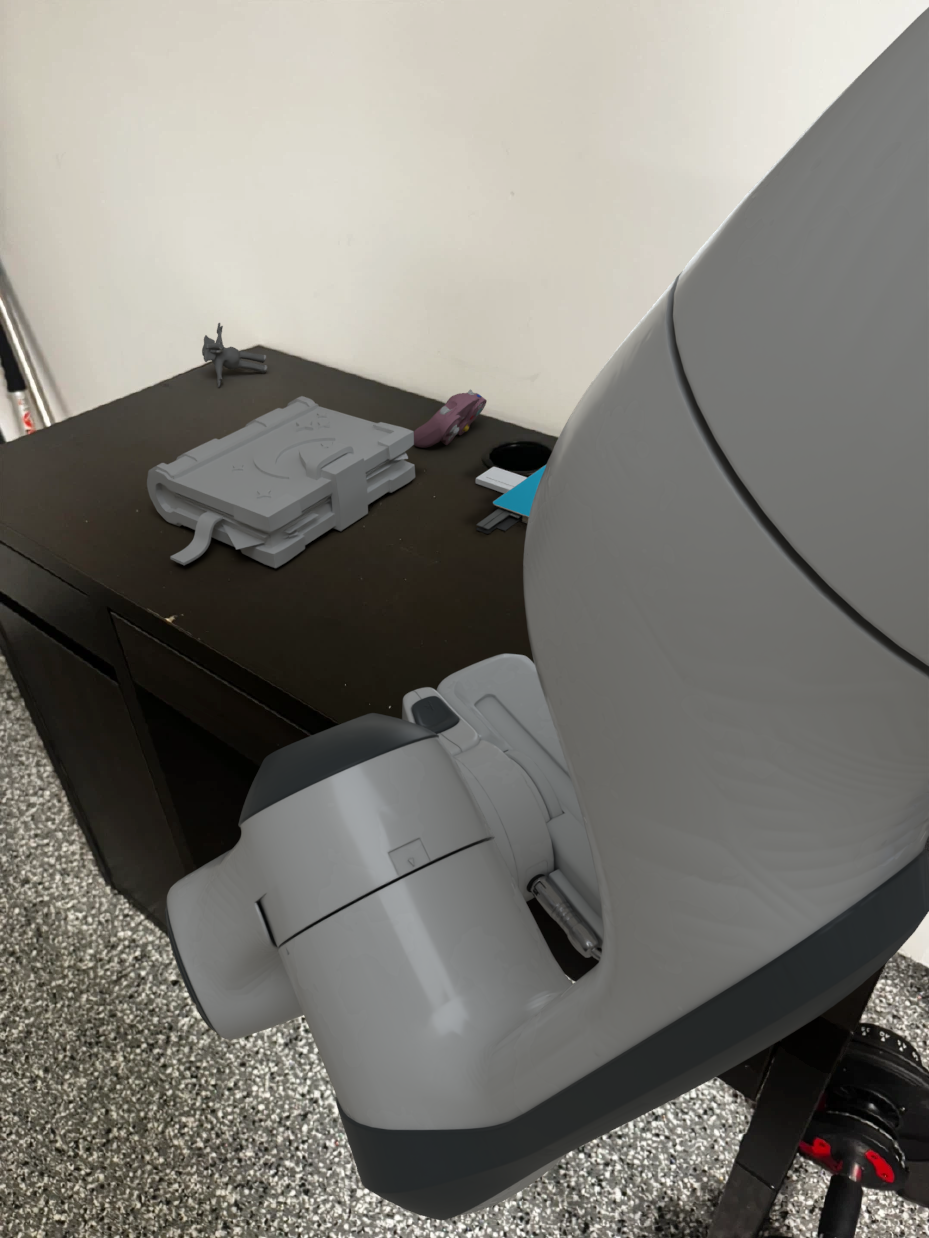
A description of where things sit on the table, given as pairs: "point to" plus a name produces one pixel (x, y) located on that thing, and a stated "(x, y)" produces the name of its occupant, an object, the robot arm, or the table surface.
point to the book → (281, 481)
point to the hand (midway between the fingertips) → (677, 733)
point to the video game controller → (450, 420)
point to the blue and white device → (509, 497)
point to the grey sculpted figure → (229, 356)
